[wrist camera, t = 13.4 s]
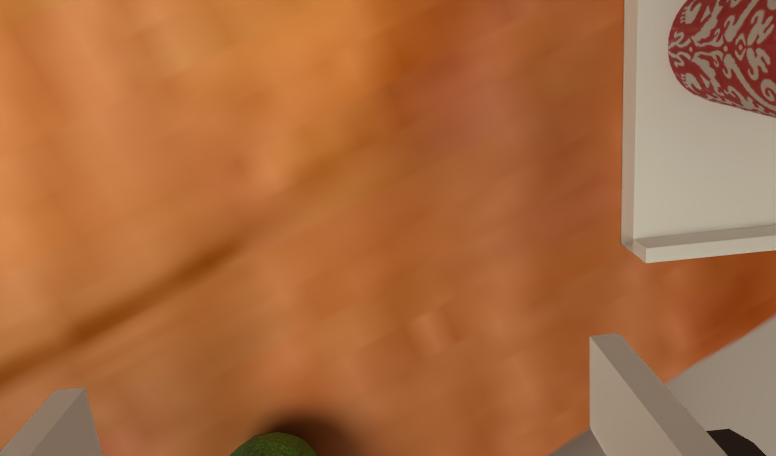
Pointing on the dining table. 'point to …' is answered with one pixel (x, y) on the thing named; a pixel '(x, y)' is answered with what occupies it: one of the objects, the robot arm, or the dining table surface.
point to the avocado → (275, 446)
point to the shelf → (688, 156)
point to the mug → (727, 52)
